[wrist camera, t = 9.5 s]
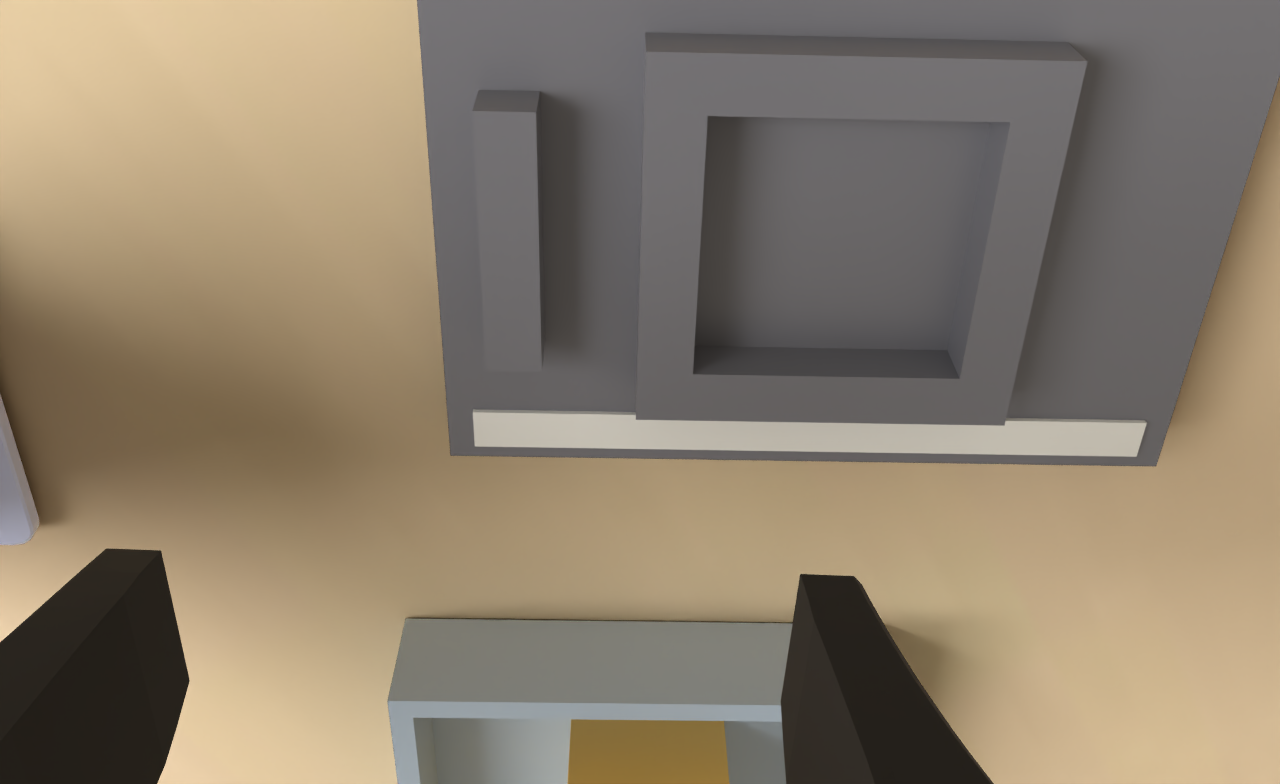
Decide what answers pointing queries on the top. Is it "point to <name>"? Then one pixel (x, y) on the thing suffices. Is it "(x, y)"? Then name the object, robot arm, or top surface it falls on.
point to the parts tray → (577, 693)
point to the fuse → (647, 752)
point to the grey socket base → (833, 222)
